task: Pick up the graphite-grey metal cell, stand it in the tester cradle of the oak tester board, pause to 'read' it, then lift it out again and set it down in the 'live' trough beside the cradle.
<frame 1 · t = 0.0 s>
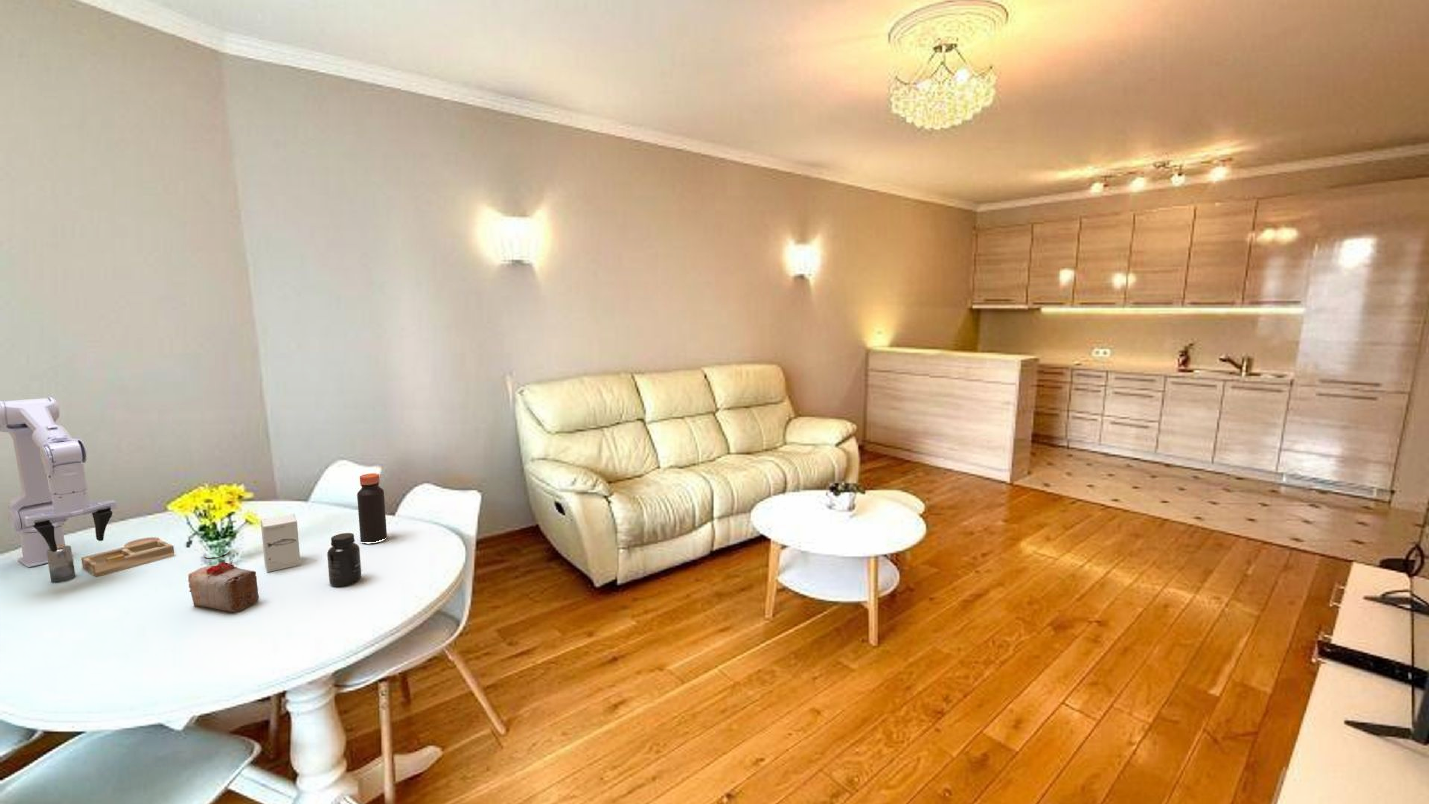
hand: (77, 545, 137), 10 cm above the table, fingers open, 7 cm apart
tester board: (129, 561, 151), on the table
food item: (226, 604, 131), on the table
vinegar: (374, 541, 169), on the table
cell: (63, 579, 141), on the table
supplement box: (283, 565, 151), on the table
supplement bottle: (345, 582, 143), on the table
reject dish: (143, 548, 159), on the table
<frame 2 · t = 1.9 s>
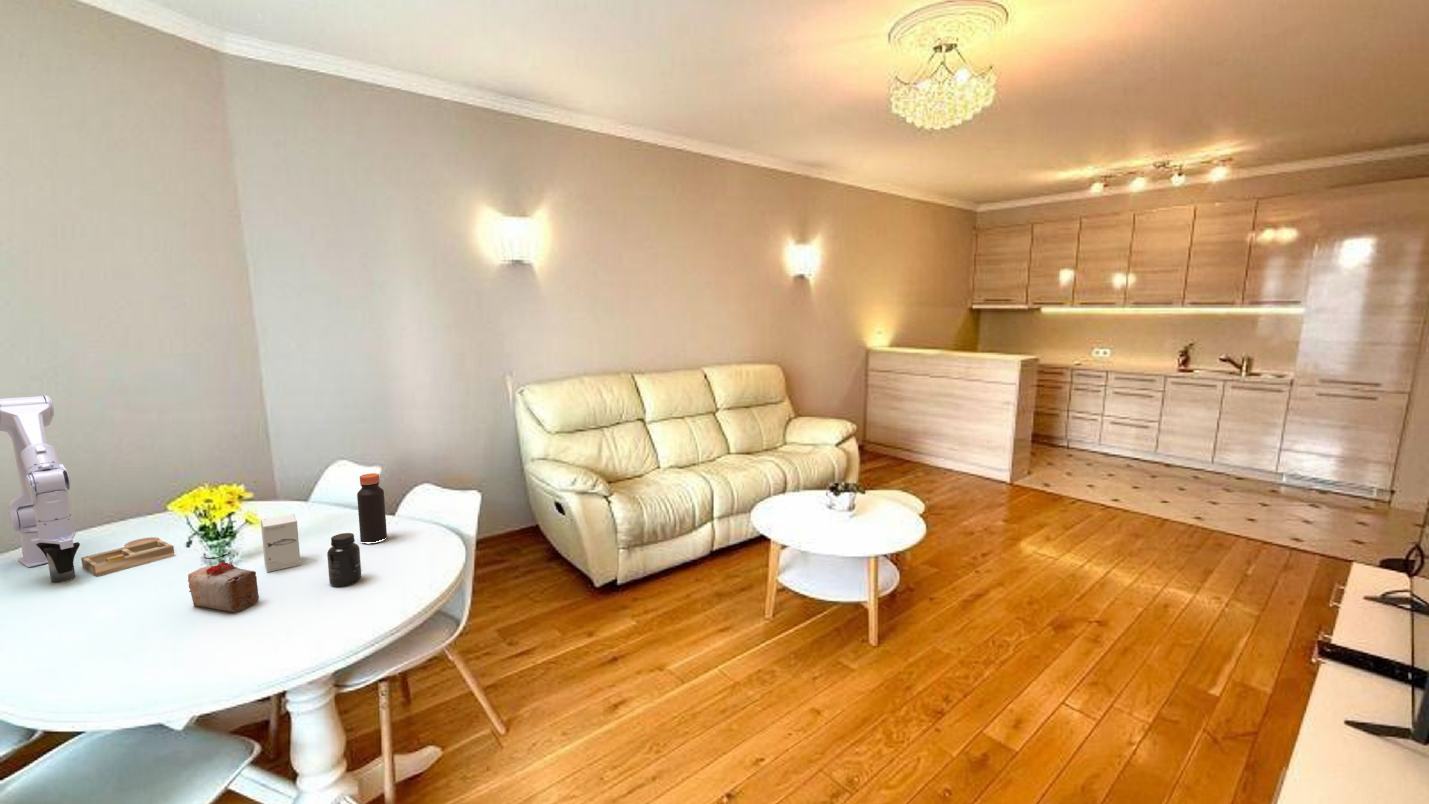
hand: (62, 570, 140), 2 cm above the table, fingers closed on cell, 4 cm apart
cell: (63, 579, 141), on the table, touching gripper
everything else where it was.
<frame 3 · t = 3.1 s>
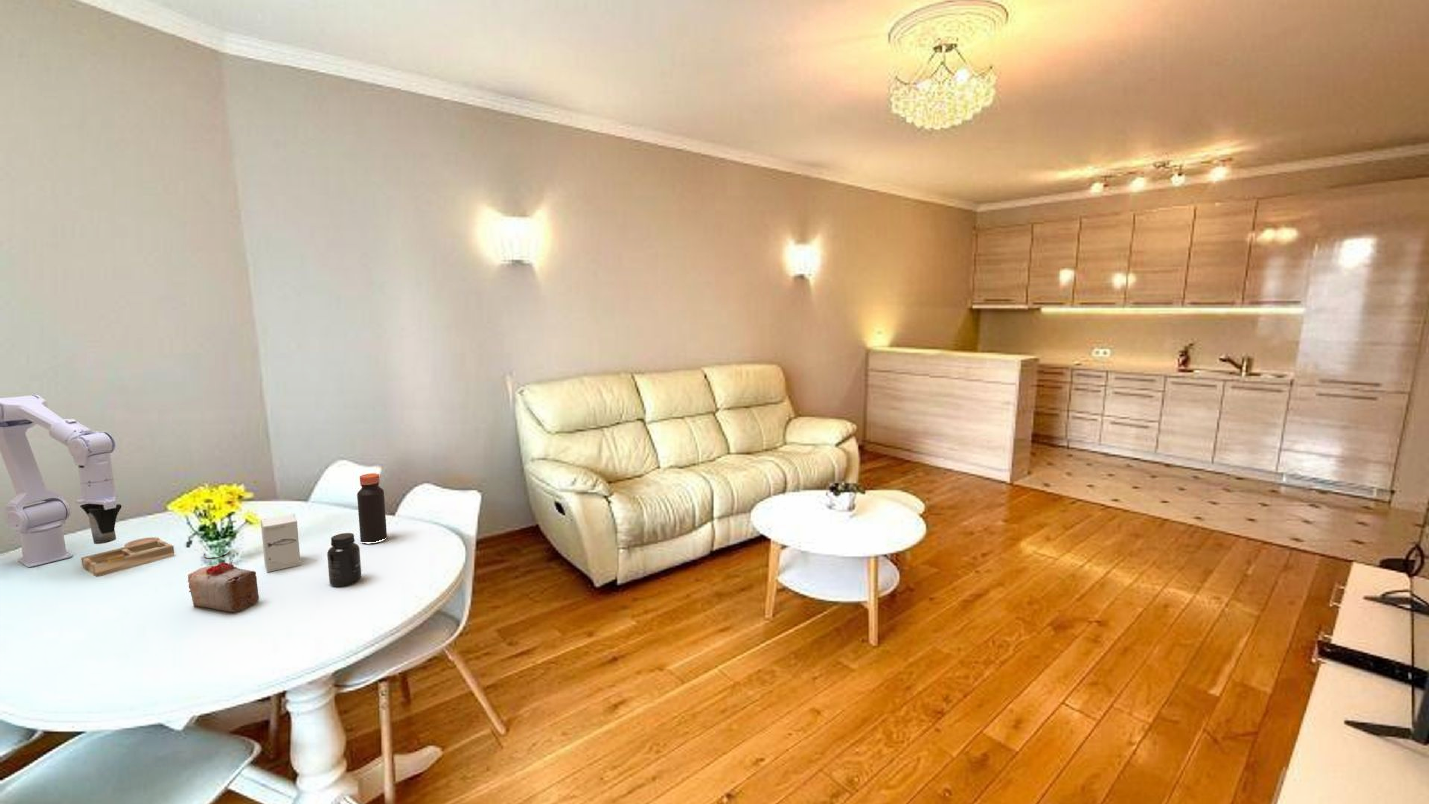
hand: (104, 530, 146), 10 cm above the table, fingers closed on cell, 4 cm apart
cell: (105, 540, 146), point 7 cm above the table, touching gripper
everything else where it was.
when the fingers open (5 cm above the table, at t = 4.5 s): cell stays where it is, resting on tester board.
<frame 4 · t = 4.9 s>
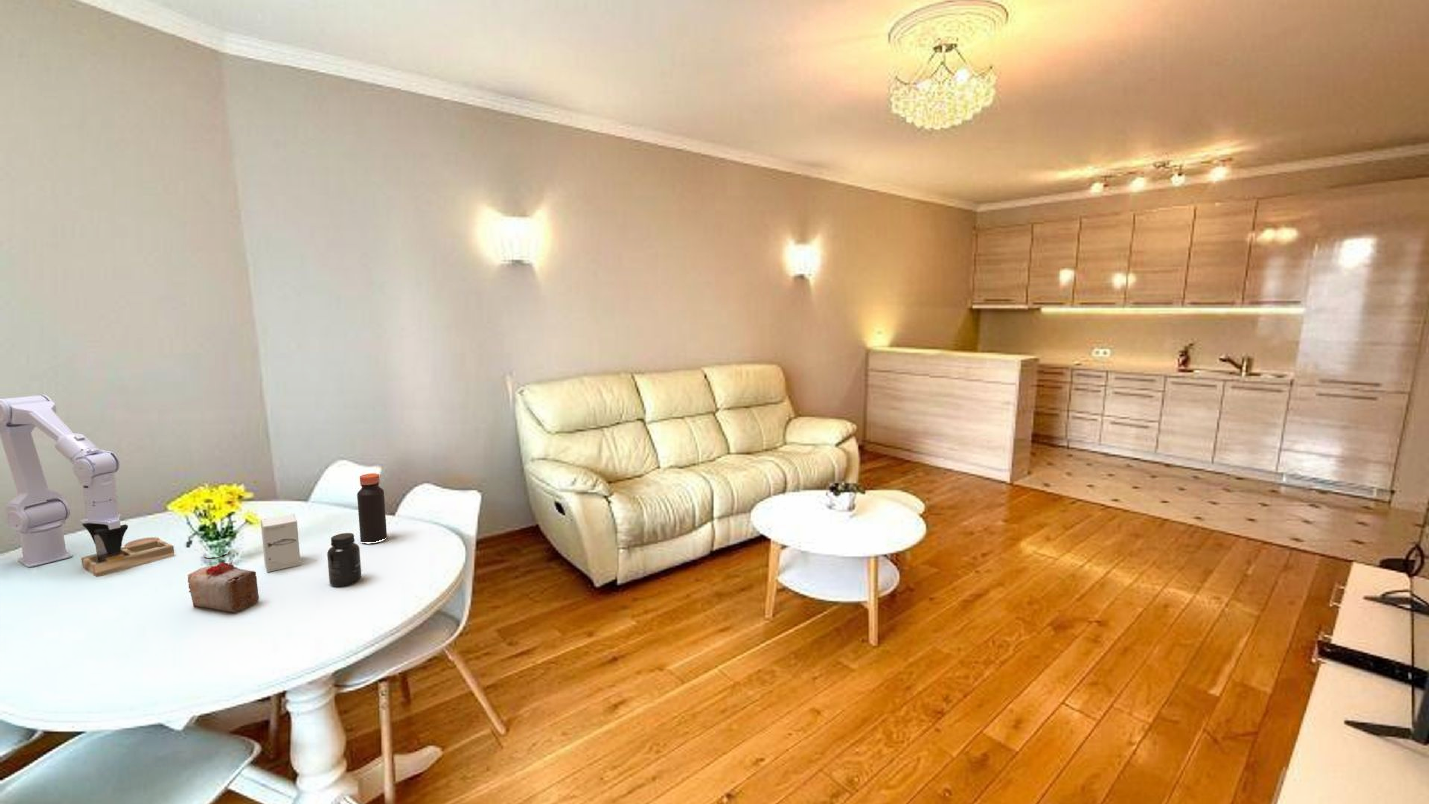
hand: (108, 549, 147), 5 cm above the table, fingers open, 7 cm apart
cell: (109, 562, 148), point 1 cm above the table, touching tester board
everything else where it was.
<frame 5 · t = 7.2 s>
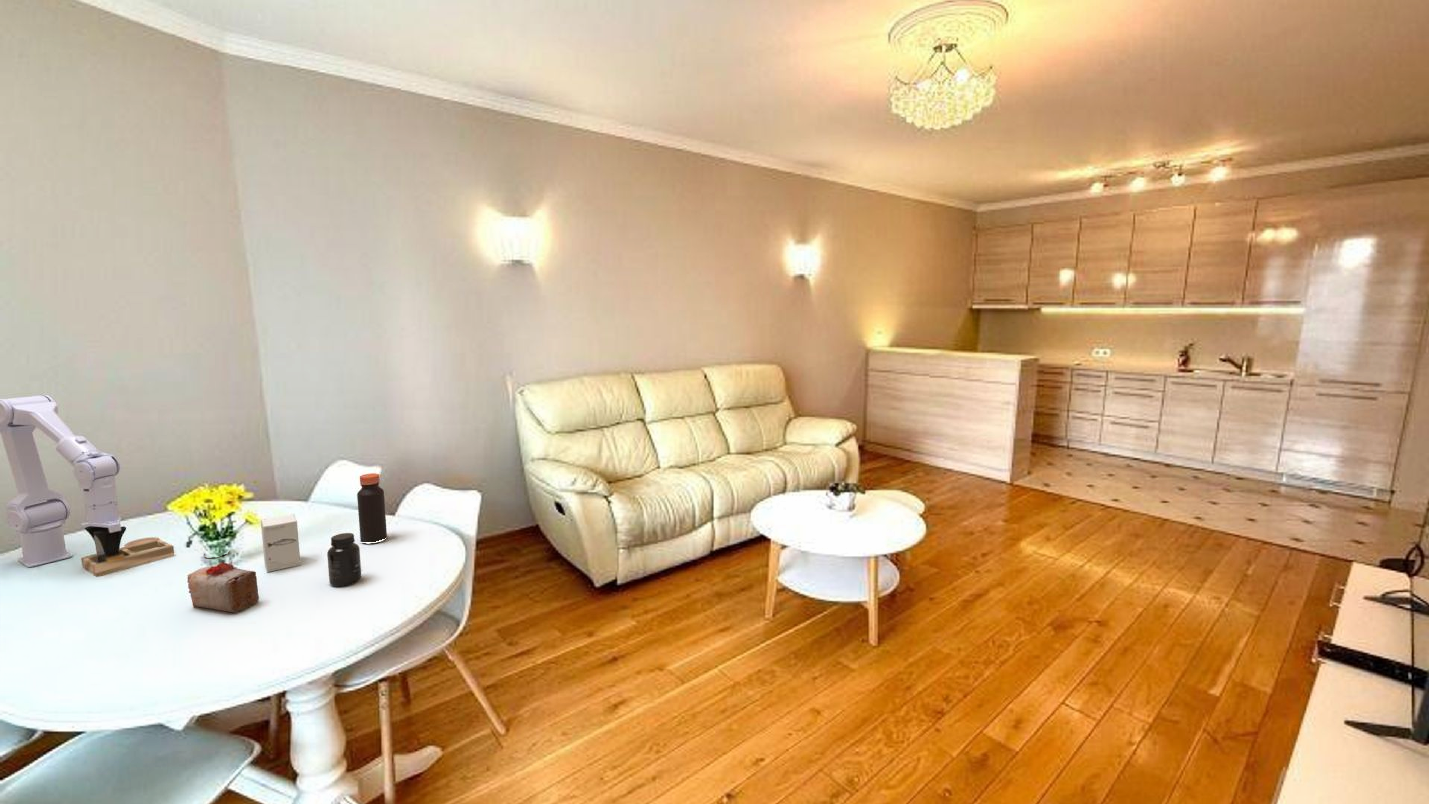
hand: (108, 552, 147), 4 cm above the table, fingers closed on cell, 4 cm apart
cell: (109, 562, 148), point 1 cm above the table, touching gripper, tester board
everything else where it was.
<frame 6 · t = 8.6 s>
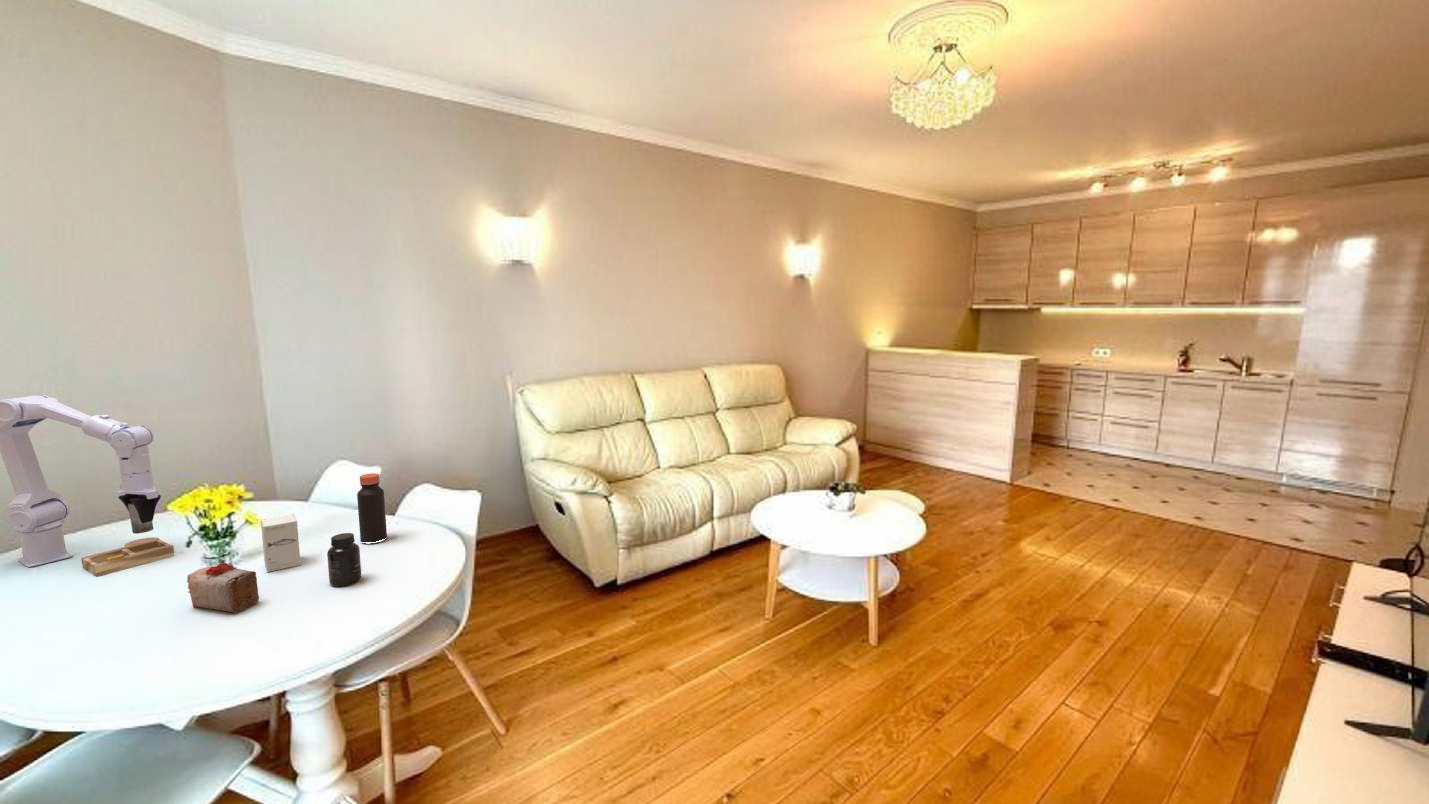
hand: (142, 520, 153), 10 cm above the table, fingers closed on cell, 4 cm apart
cell: (143, 530, 153), point 8 cm above the table, touching gripper
everything else where it was.
when the fingers open (5 cm above the table, at t = 10.1 s): cell stays where it is, resting on tester board.
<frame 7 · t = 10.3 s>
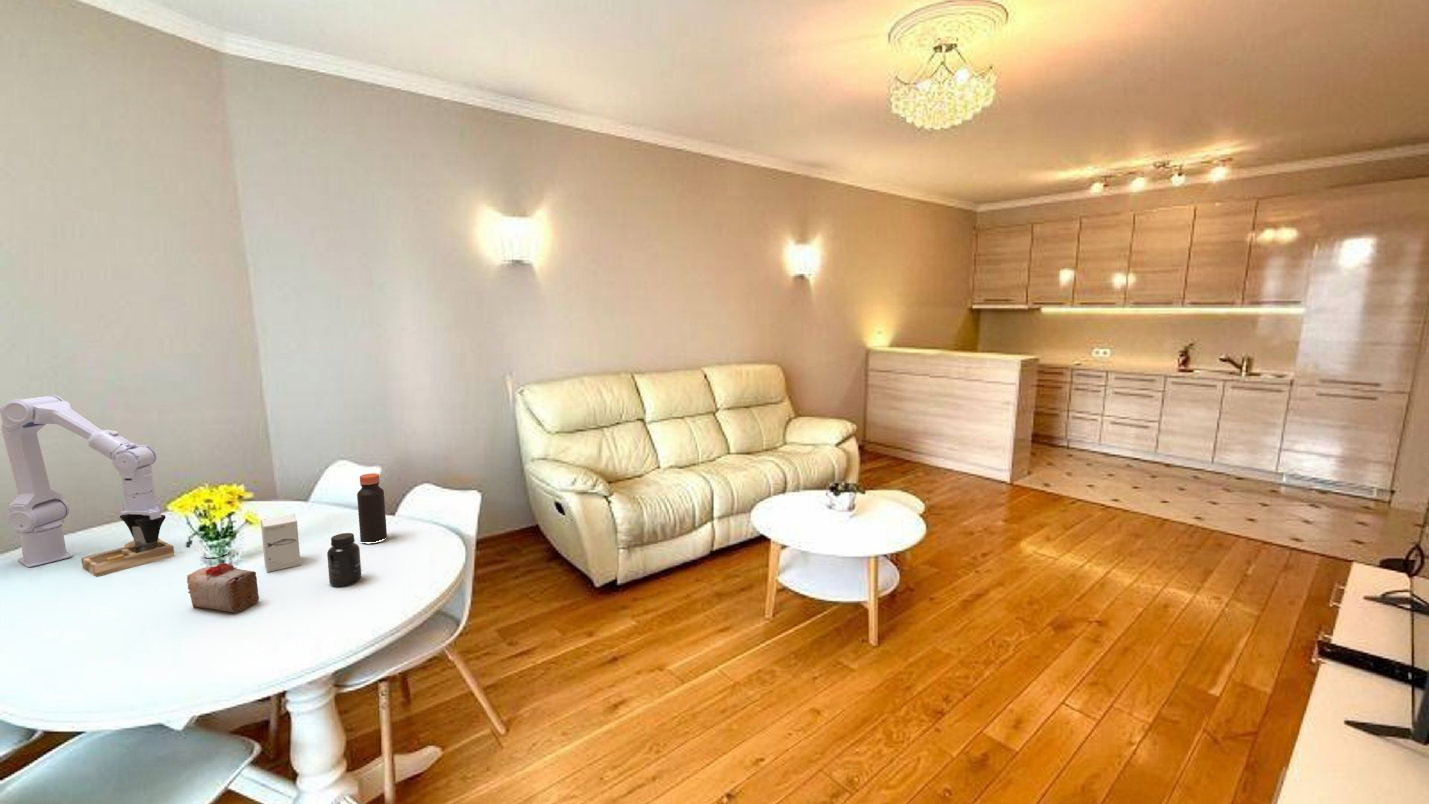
hand: (145, 540, 153), 5 cm above the table, fingers open, 6 cm apart
cell: (146, 552, 154), point 1 cm above the table, touching tester board
everything else where it was.
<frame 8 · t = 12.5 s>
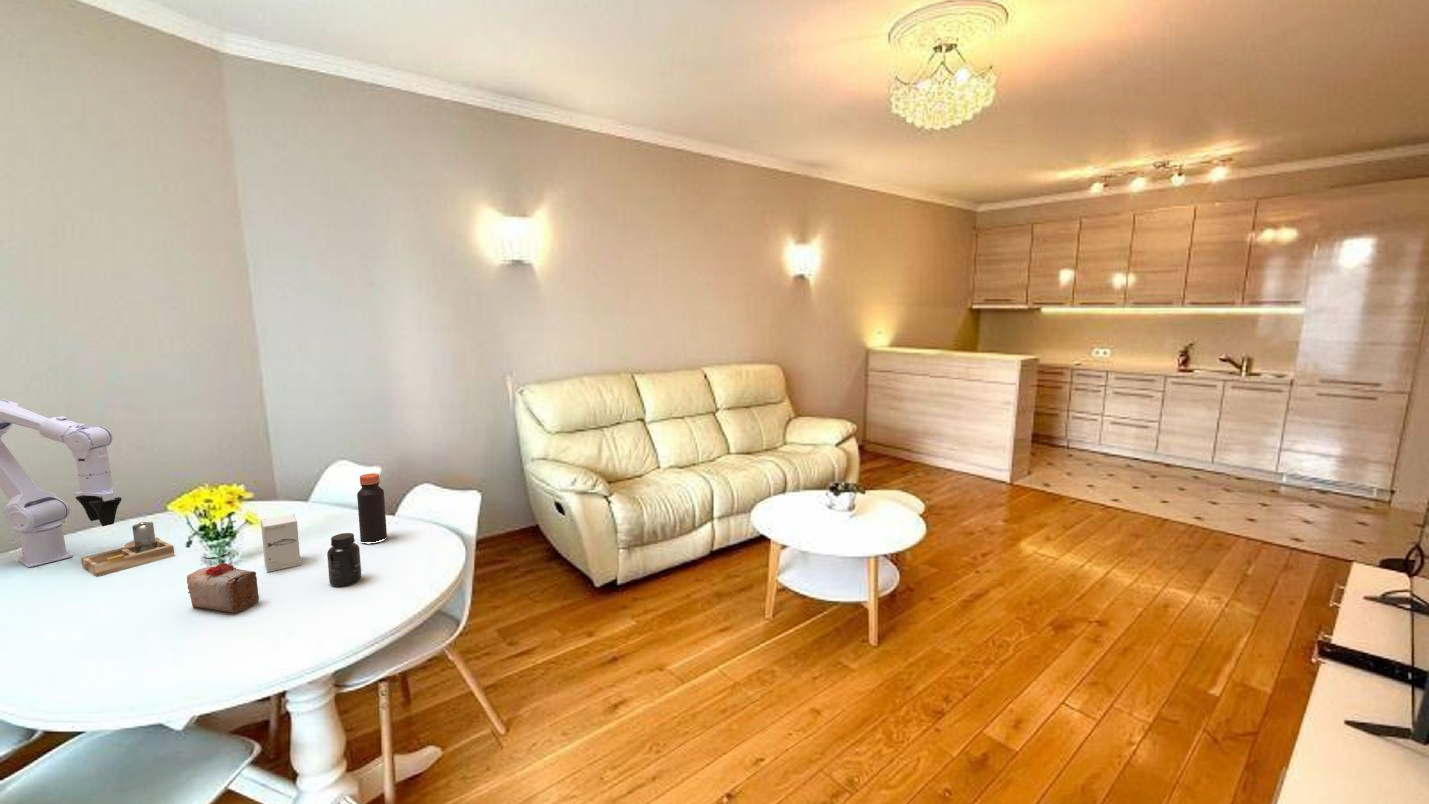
hand: (102, 522, 151), 10 cm above the table, fingers open, 7 cm apart
nothing on the table moved.
at the end: cell 0.2 cm from the target spot on the tester board, point 1.2 cm above the tester board's base; cell tilted 0°; the gripper is holding nothing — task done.
